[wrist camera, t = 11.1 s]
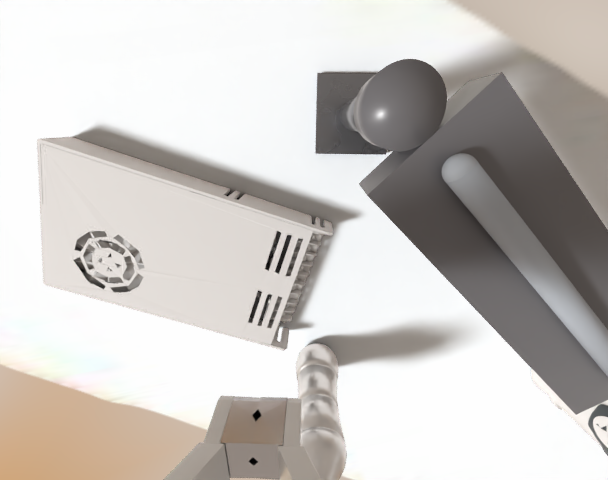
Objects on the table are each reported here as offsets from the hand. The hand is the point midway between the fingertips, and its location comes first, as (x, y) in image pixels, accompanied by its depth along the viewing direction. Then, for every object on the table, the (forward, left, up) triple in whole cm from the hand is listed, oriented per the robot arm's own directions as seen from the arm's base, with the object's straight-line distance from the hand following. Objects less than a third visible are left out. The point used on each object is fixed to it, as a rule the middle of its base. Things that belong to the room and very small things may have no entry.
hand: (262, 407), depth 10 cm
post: (-6, -10, -27) cm, 30 cm away
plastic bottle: (-3, +25, -27) cm, 37 cm away
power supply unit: (+14, +6, -28) cm, 32 cm away
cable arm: (-15, -2, -11) cm, 18 cm away
